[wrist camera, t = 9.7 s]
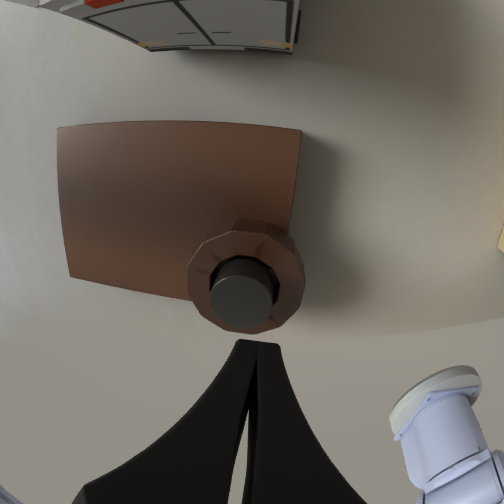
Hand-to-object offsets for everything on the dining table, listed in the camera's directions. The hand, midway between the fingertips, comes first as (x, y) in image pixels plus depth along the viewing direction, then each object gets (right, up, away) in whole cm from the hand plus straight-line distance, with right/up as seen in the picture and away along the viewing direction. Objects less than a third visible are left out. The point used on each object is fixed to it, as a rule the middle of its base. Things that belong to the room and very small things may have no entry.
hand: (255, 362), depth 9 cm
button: (0, +2, +5) cm, 6 cm away
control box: (-5, +6, +8) cm, 11 cm away
